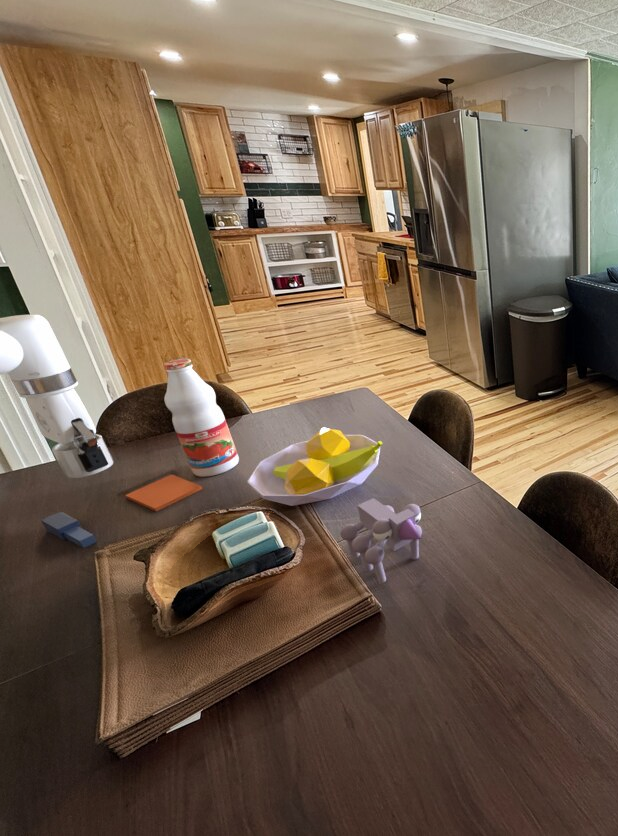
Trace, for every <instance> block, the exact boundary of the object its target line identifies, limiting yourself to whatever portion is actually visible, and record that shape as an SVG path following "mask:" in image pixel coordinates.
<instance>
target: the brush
mask: <svg viewBox="0 0 618 836" xmlns="http://www.w3.org/2000/svg"><path fill="white" fill-rule="evenodd" d="M40 521H41V523H42V525H43V527H44V528H45V530H46V532H48V533H49V534H51V535H53V536H54V537H57V538H58V539H60V540H62V541H66V540H67V541H70V542H71V543H74V544H75V545H77V546H78V547H80V548H82V549H85V548H88V547H89V546H92V545H94V544H96V543H97V542H98V541H97V539H96V536H95V535H94V534H93V533H91V532H89V531H88V530H85V529H83V527H82V526H81V524H80V522H79V520H77V519H76V518H74V517H72V516H70V515H68V514H66V513H64V512H62V511H59V512H57V513H54V514H52V515H49V516H47V517H45V518H43V519H40Z"/></svg>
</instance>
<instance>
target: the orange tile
mask: <svg viewBox="0 0 618 836" xmlns="http://www.w3.org/2000/svg"><path fill="white" fill-rule="evenodd" d="M202 490H203V487H202V485H200V484H197V483H194V482H192V481H189V480H187V479H184V478H182V477H179V476H177V475H174V474H169V475H167V476H165V477H164V478H163V477H162V478H161V479H158V480H156V481H154V482H152V483H149V484H147V485H145V486H143V487H141V488H138V489H135V490H133V491H132V492H129V493H127V494H125V498H126V499H127V500H130V501H131V502H135V503H136V504H139V505H140V506H143V507H145V508H147V509H150V510H152V511H154V512H158V511H160V510H163V509H164V508H166V507H169V506H170V505H172V504H174V503H177V502H179V501H181V500H183V499H185V498H187V497H189V496H191V495H193V494H195V493H197V492H199V491H202Z"/></svg>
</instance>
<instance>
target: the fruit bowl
mask: <svg viewBox="0 0 618 836" xmlns="http://www.w3.org/2000/svg"><path fill="white" fill-rule="evenodd" d="M383 445H384V443H383V442H382V441H381V440H378V441H375V440H373V439H371V438H370V437H368V436H366V435H364V434H343V432H342V431H341V430H340V429H334V428H327V427H322V428H320V430H318V432H316V434H314V435H313V436H312V437H311V438H310V439H309V440H304V441H301V442H297V443H293V444H290V445H289V446H287V447H284V448H283V449H281V450H280V451H279V450H278V452H276V453H274V454H272V455H270V456H268V457H266V458H264V459H262V460H261V461H260V462H259V463H258V464H257V466H256V467H255V469H254V471H253V472H252V473H251V475H250V477H249V478H248V480H246V481H247V484H248V485H250V487H251V488H252V489H253V490H254V491H255V492H256V493H257V494H258V495H259V497H261V498H262V499H263V500H265V501H266V500H267V501H271V502H274V503H277V504H278V503H279V504H281V505H286V506H291V507H294V506H298V505H305V504H310V503H316V502H320V501H325V500H330V499H332V498H334V497H336V496H339V495H341V494H343V493H346V492H347V491H349V490H352V489H354V488H357V487H358V486H361V485H362V484H363V483H364V482H365V480H366V479H367V478H368V477H369V476H370V475H371V473H372V472H373V471H374V470H375V469H376V468H377V466H378V465H379V459H380V453H381V446H383Z"/></svg>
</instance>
